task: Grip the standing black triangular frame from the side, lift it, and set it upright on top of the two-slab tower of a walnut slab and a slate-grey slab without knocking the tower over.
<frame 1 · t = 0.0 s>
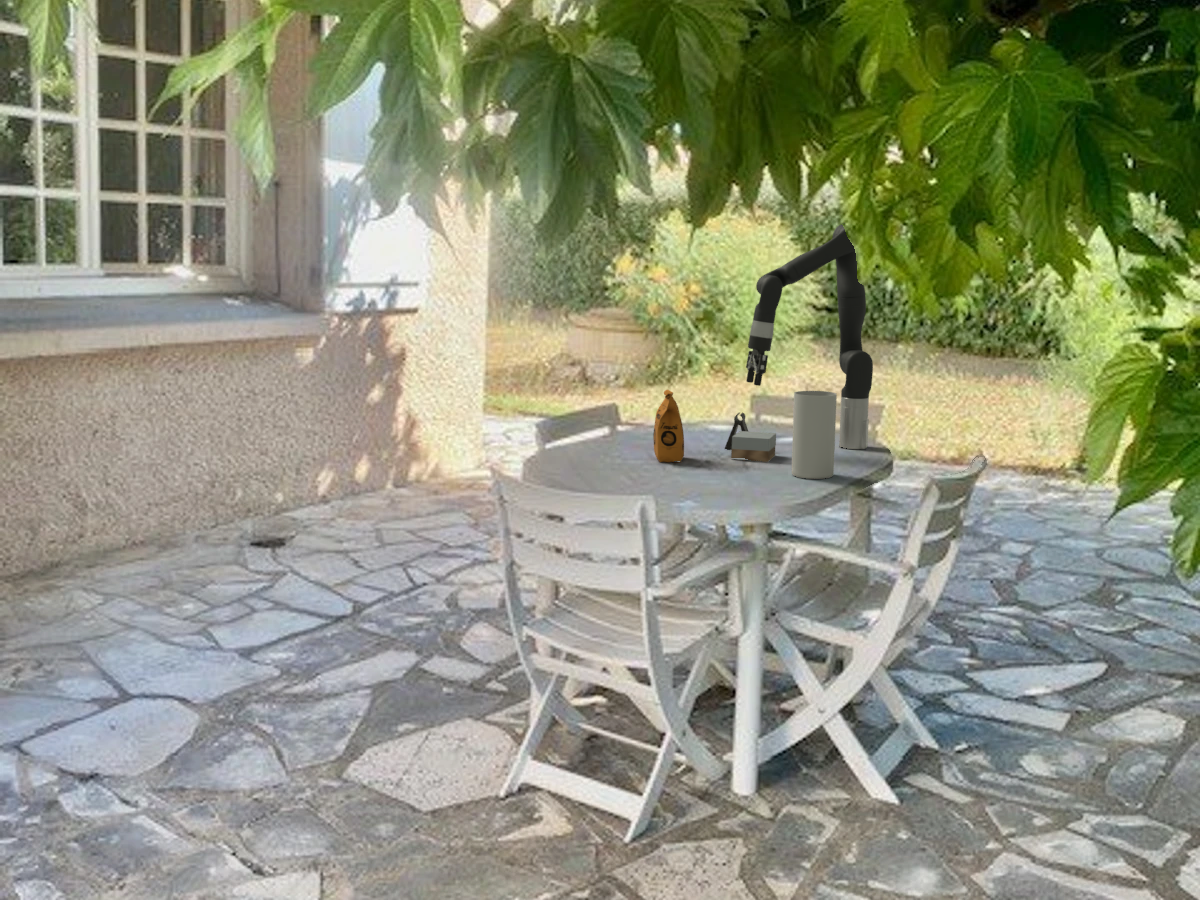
hand: (753, 383, 418), 22 cm above the table, tool pointing down, fingers open, 8 cm apart
black triangular frame: (739, 449, 424), on the table
coffee package: (668, 460, 403), on the table
bottom slab: (753, 459, 408), on the table, touching top slab
cylinder vase: (812, 476, 378), on the table
top slab: (754, 447, 407), point 3 cm above the table, touching bottom slab
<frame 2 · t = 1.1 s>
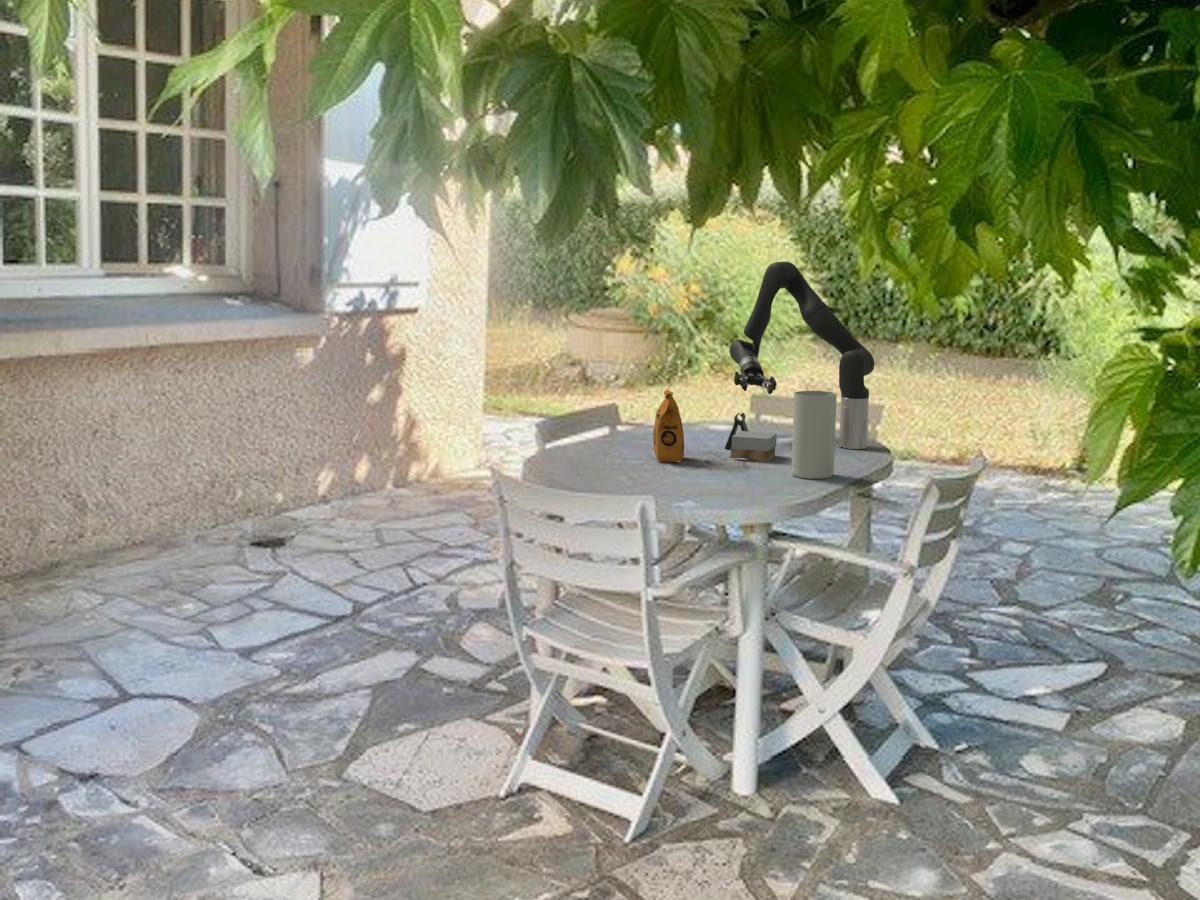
hand: (758, 390, 424), 19 cm above the table, tool tilted 70°, fingers open, 8 cm apart
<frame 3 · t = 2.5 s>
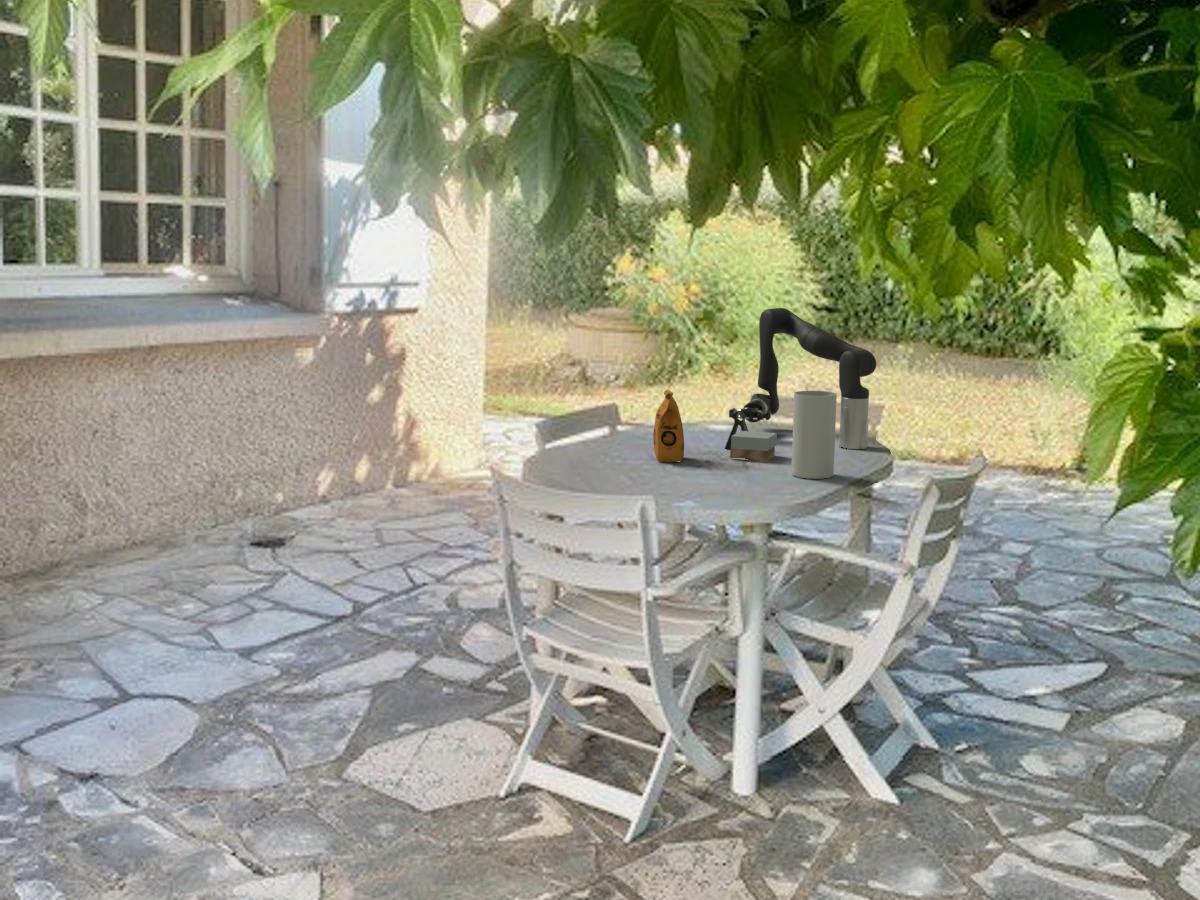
hand: (746, 417, 434), 9 cm above the table, tool horizontal, fingers open, 8 cm apart
nothing on the table moved.
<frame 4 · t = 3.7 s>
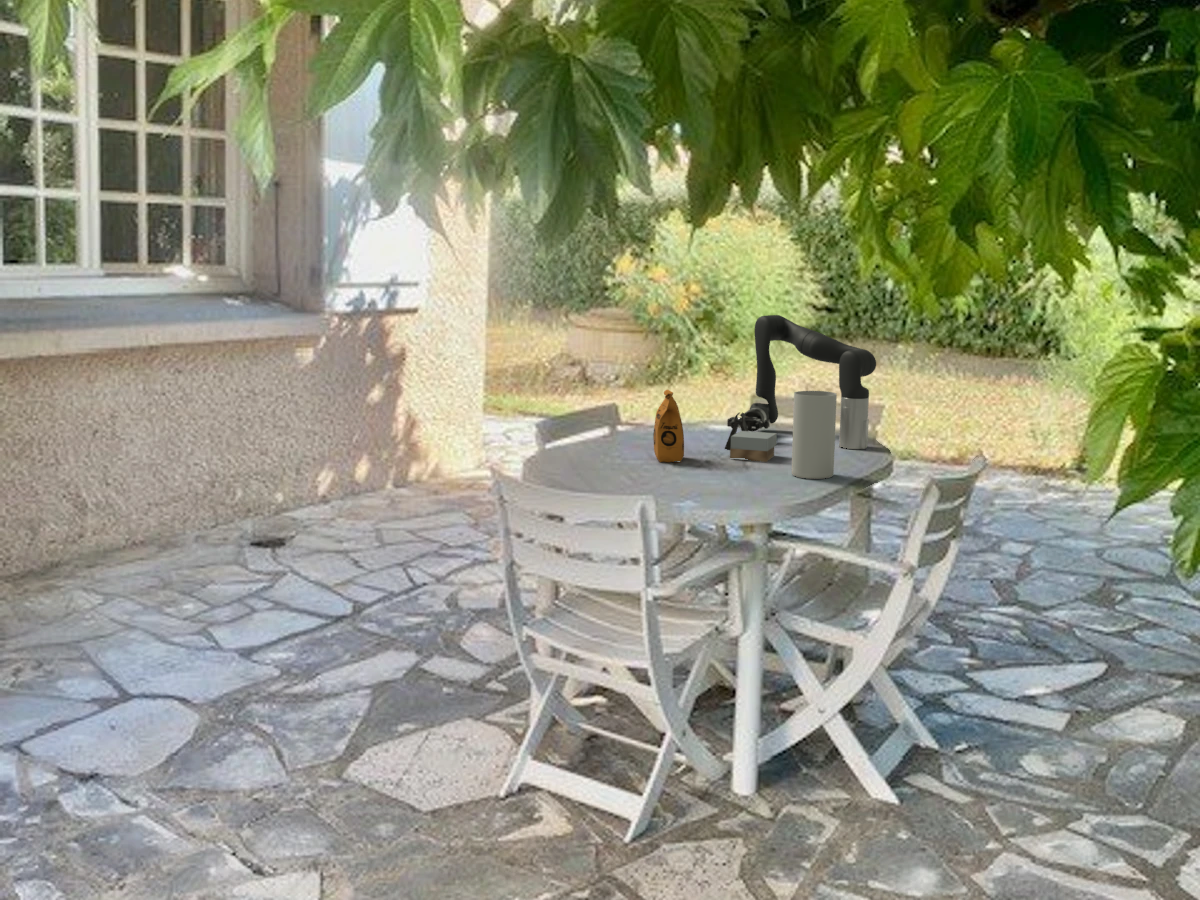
hand: (744, 425, 430), 7 cm above the table, tool horizontal, fingers open, 8 cm apart
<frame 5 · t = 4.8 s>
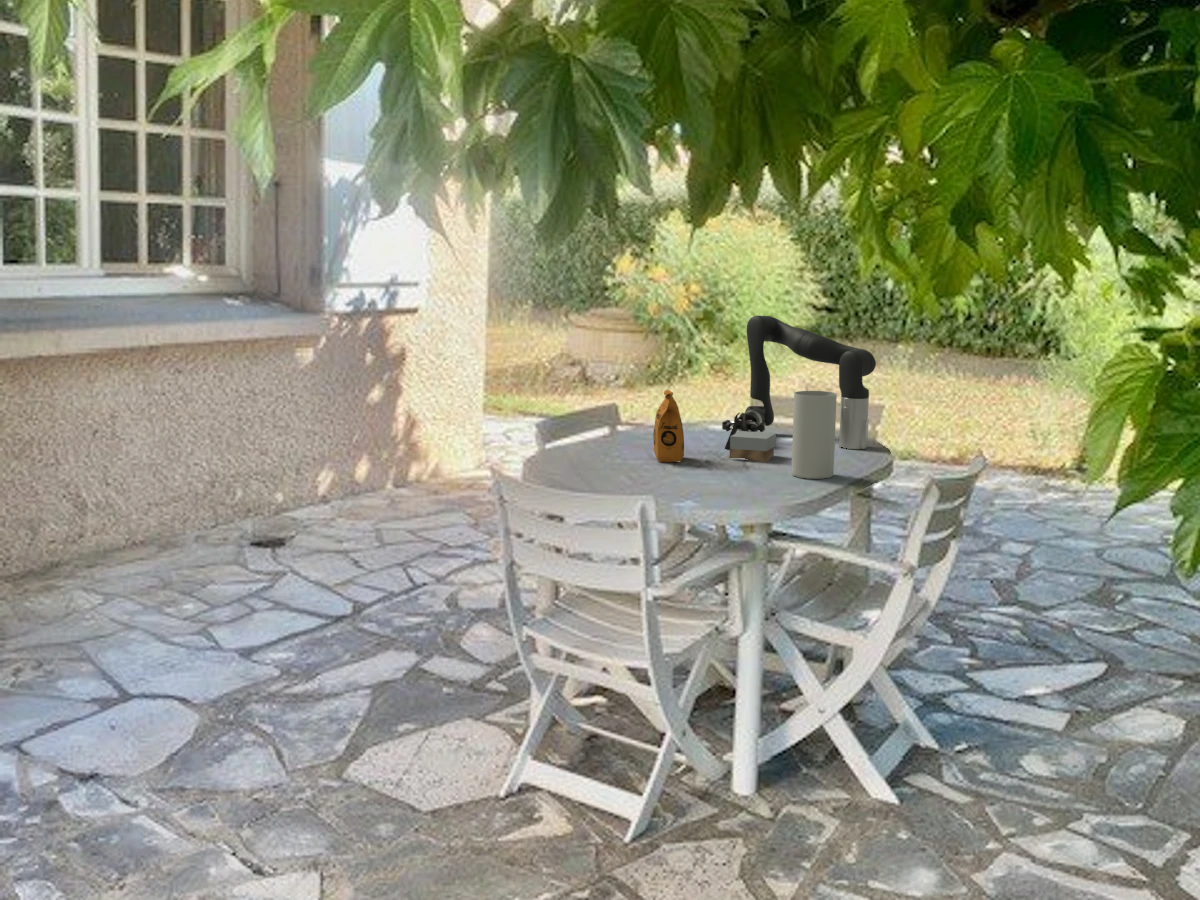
hand: (739, 429, 423), 7 cm above the table, tool horizontal, fingers open, 8 cm apart
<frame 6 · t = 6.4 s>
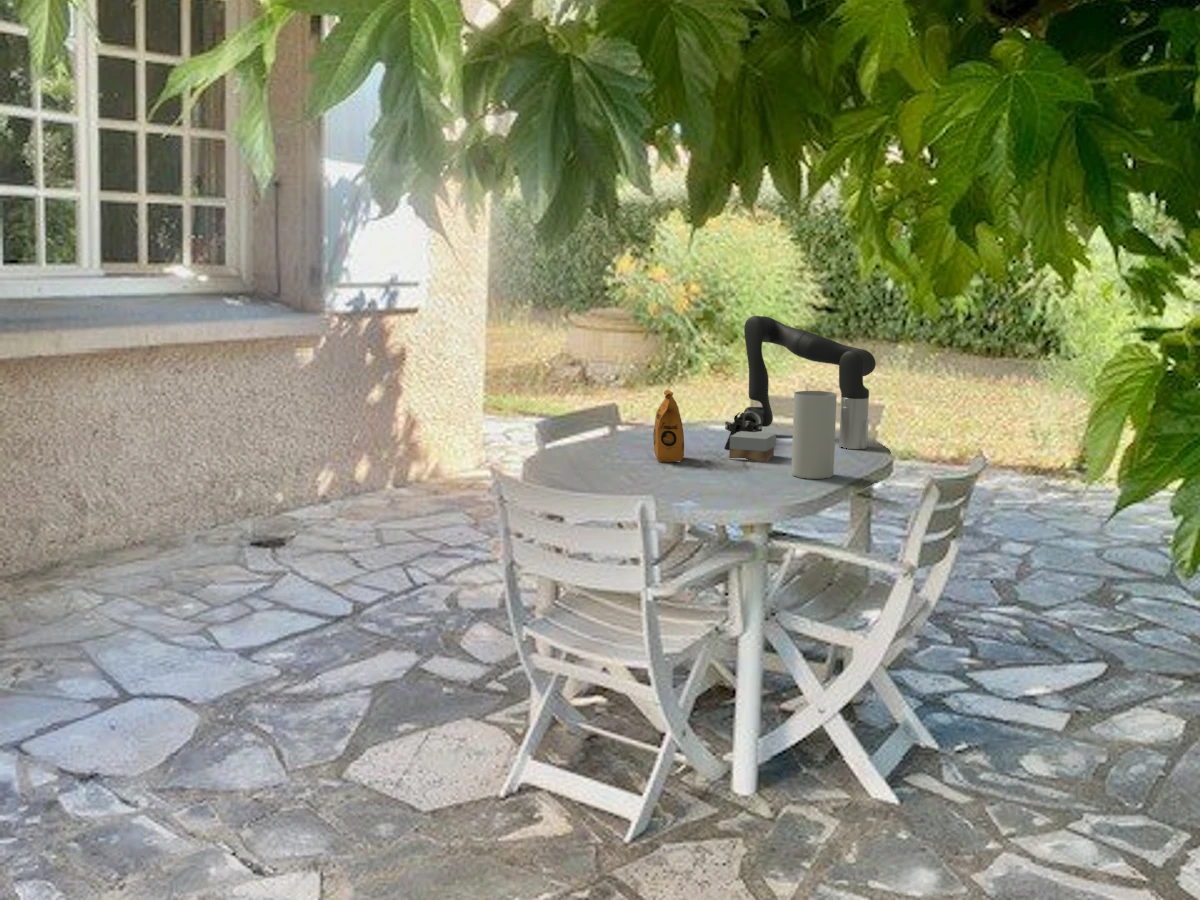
hand: (737, 430, 420), 7 cm above the table, tool horizontal, fingers closed on black triangular frame
black triangular frame: (738, 449, 424), on the table, touching gripper
everything else where it was.
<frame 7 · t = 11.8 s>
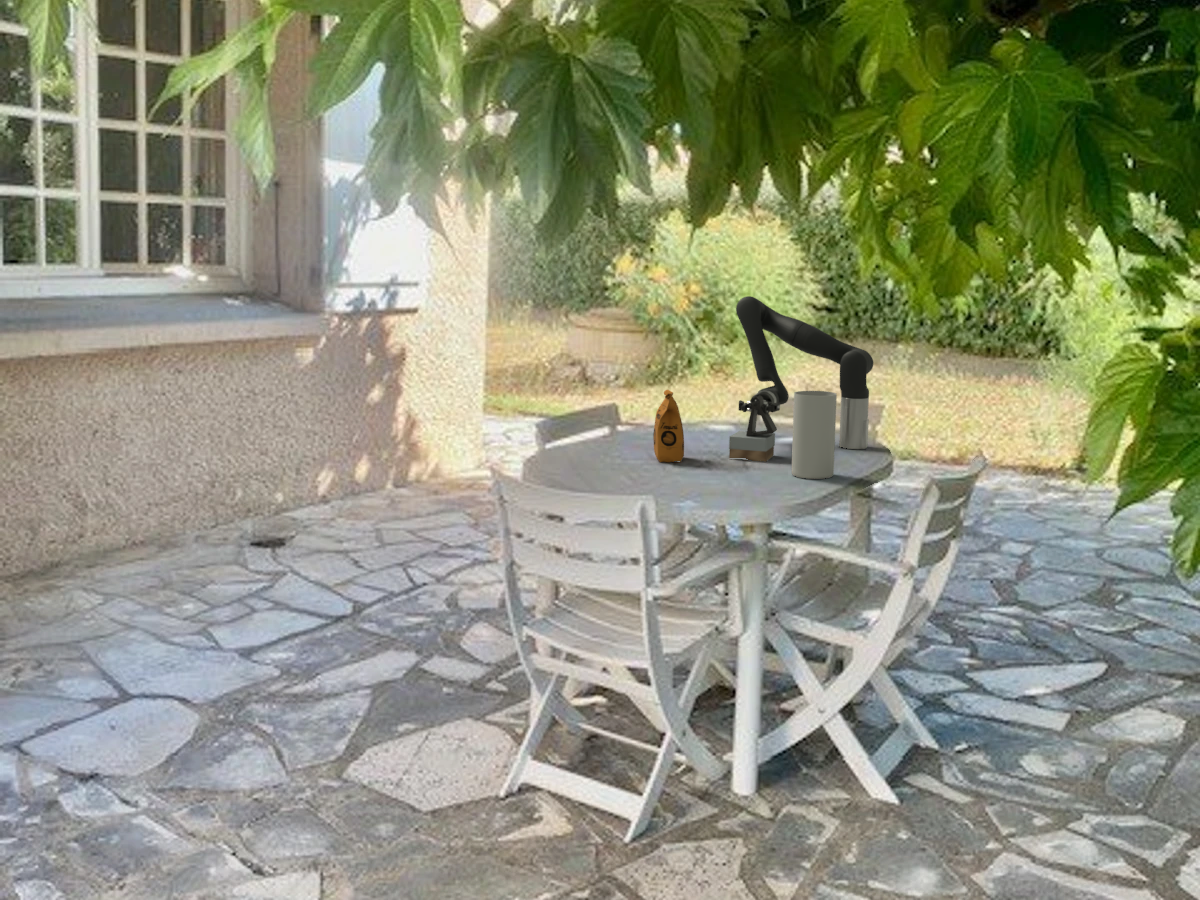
hand: (753, 409, 403), 16 cm above the table, tool horizontal, fingers open, 5 cm apart
black triangular frame: (761, 433, 405), point 8 cm above the table, touching gripper
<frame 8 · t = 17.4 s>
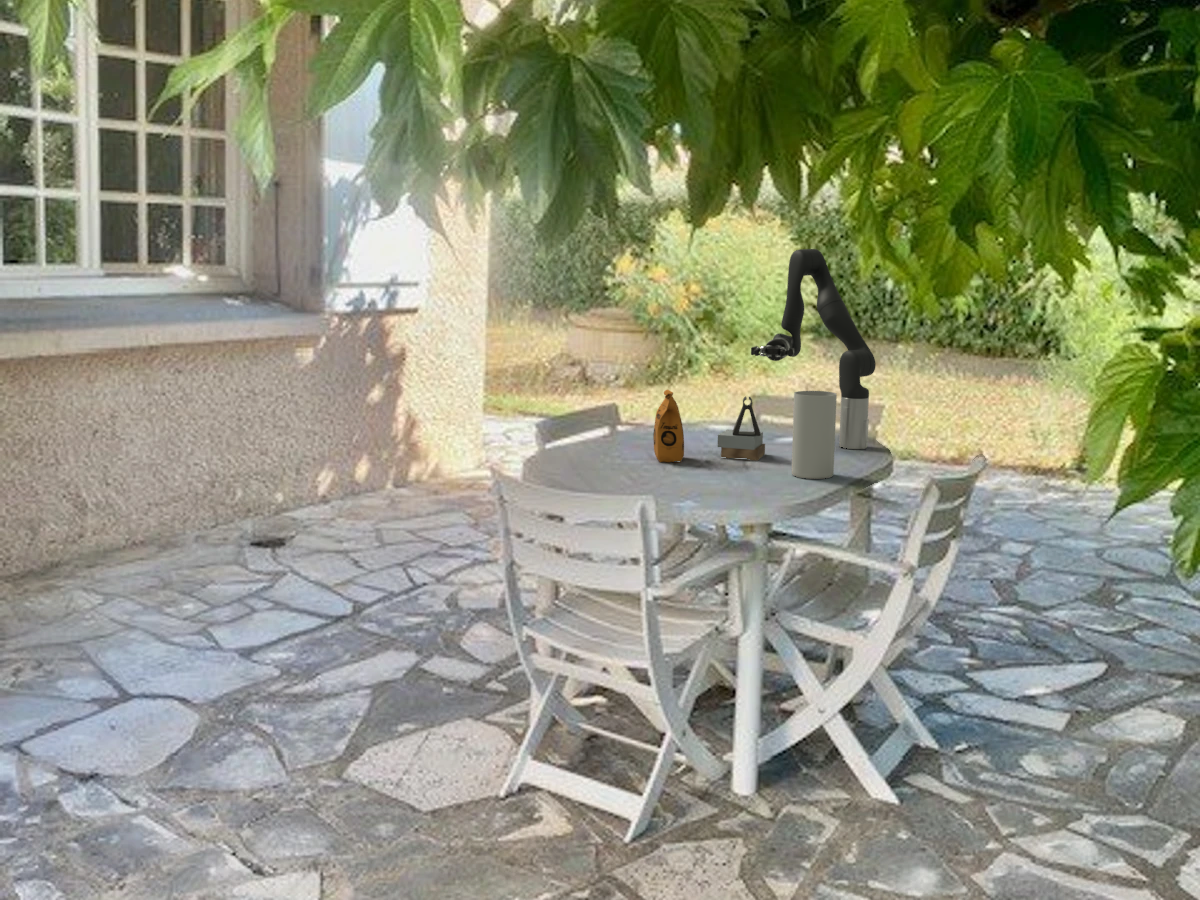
hand: (768, 353, 422), 32 cm above the table, tool horizontal, fingers open, 8 cm apart
black triangular frame: (746, 434, 407), point 7 cm above the table, touching top slab
bottom slab: (743, 457, 410), on the table, touching top slab
top slab: (740, 445, 409), point 4 cm above the table, touching bottom slab, black triangular frame
everything else where it was.
at the end: black triangular frame inside the target area on the top slab (2.5 cm from its centre), point 3.8 cm above the top slab's base; top slab 1.0 cm off-centre on the bottom slab, point 4.0 cm above the bottom slab's base; black triangular frame tilted 1° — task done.
